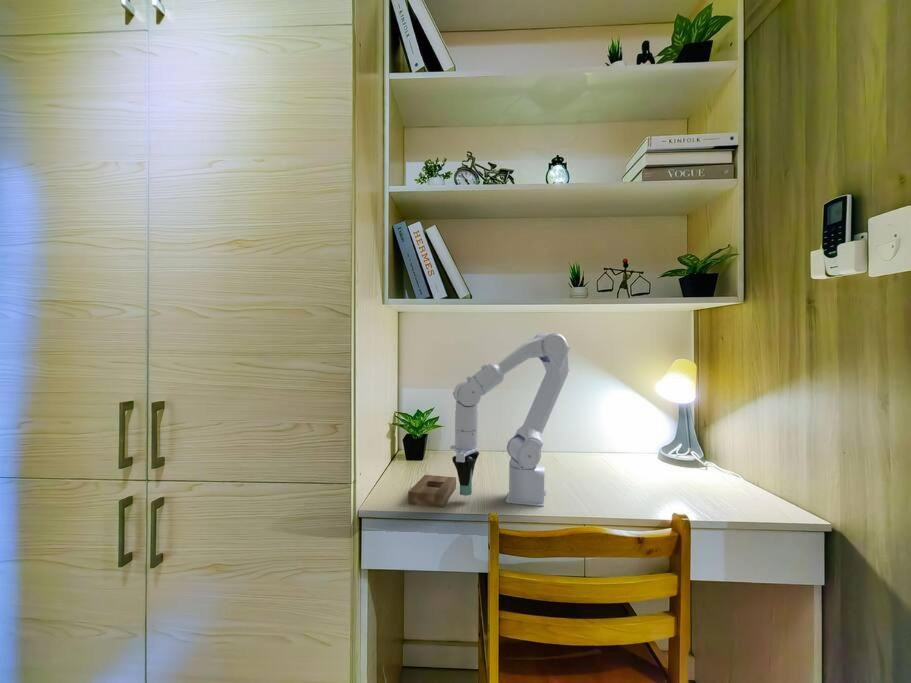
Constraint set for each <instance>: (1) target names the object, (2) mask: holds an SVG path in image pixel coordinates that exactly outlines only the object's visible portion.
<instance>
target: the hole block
mask: <svg viewBox="0 0 911 683" xmlns="http://www.w3.org/2000/svg"><path fill="white" fill-rule="evenodd" d="M456 489H457V477H456V476H447V475H446V476H444V475H432V474H424V475H423V476H422V477H421V478H420V479H419V480H418V481H417V482H416V483H415V484H414V485H413V486H412V487H411V489H409V490H408V492H407V493H408V497H407V500H408V501H407V503H408V504H410V505H416V506H417V505H418V506H427V507H437V508H444V507H445V506H446V504H447V502H448V500H450V498H451V496H452V495H453V494H454V492H455V490H456Z"/></svg>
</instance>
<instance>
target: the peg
mask: <svg viewBox="0 0 911 683" xmlns="http://www.w3.org/2000/svg"><path fill="white" fill-rule="evenodd" d="M469 458H472V457H469ZM472 480H473V476H472V470H471V476H470V482H469V485H468V486H461V485H460V484H459V494H460V495H461V496H471V495H472V494H473V492H472V491H473V487H472V486H473V483H472Z"/></svg>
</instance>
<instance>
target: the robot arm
mask: <svg viewBox="0 0 911 683" xmlns="http://www.w3.org/2000/svg"><path fill="white" fill-rule="evenodd" d="M569 351H570V346H569V344H568V342H567V340H566V338H565V336H564V335H562V334H561V333H559V332H551V333H538V334H536V335H534V336H533V337H532V338H529V339H528V340H526V341H525V342H524V343H522V344H521V345H520V346H518V347H517V348H516V349H515V350H513V351H512V352H511V353H509V354H508V355H507V356H505V357H504V358H503V359H501V360H500V361H499V362H498V363H497V364H495V363H488V364H485V363H484V364H482V365H481V366H480V368H481V369H480V370H478V371H477V372H476V373H474V374H473V375H471V376H470V375H467V377H466V378H465V379H466V381H460V382H458V384H457V385H456V386H455V388H454V390H453V392H452V396H453V398H454V399H455V412H454V413H455V414H454V444H451V445H450V446H449V448H450V450H454V452H455V455H453V457H452V463H453V466H454V467H455V469H456V473H457V476H458V478H457V479H458V482H459V483H458V484H459V486H460V485H461V486H468V485H469V482H470V476H471V470H472V477H473V476H474V470H475V465H476V462H477V459H478V457H479V455H480V452H479V445H478V439H479V437H478V433H479V432H478V428H479V427H478V425H479V424H478V419H479V418H478V417H479V412H478V403H480V401H481V399H482V396H485V395H486V394H488V392H490V391H491V390H493V389H495V388H496V387H497V386H499V385H500V384H501V383H503V381H504V377H505V375H506V374H507V373H509V372H510V371H512V370H514V369H515V368H517V367H518V366H519V365H521V364H522V363H524V362H526V361H527V360H529V359H533V358H535V359H536V358H538V359H539V360H540V361H541V363H542V365H543V367H544V369H545V373H544V376H543V379H542V381H541V383H540V385H539V387H538V390H537V392H536V394H535V397H534V399H533V401H532V403H531V406H530V408H529V411H528V413H527V415H526V417H525V419H524V423H523V424H522V425H521V426H520V427H519V428H517V430H516V432H515V434H514V435H513V436H512V437H511V438H510V439H509V440H508V442H507V444H506V452H507V454H508V456H509V457H510V460H509V462H508V467H509V468H508V492H507V495H506V498H505V503H507V504H516V505H525V506H526V505H527V506H535V507H544V506H545V497H547V496H546V493H547V490H546V489H547V488H545V487H546V486H545V484H546V483H545V482H546V475H545V474H546V468H545V466H540V465H538V464H539V463H540V461H541V457H542V452H541V451H542V448H543V445H544V441H543V433H544V430H545V428H546V425H547V424H548V421H549V418H550V416H551V414H552V413H553V412H552V411H553V410H554V407H555V405H556V403H557V399H558V398H559V395H560V393H561V391H562V388H563V386H564V384H565V381H566V379H567V377H568V374H569V371H570V370H569V368H570V367H569V356H568V354H569ZM469 457H472V458H469Z"/></svg>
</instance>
